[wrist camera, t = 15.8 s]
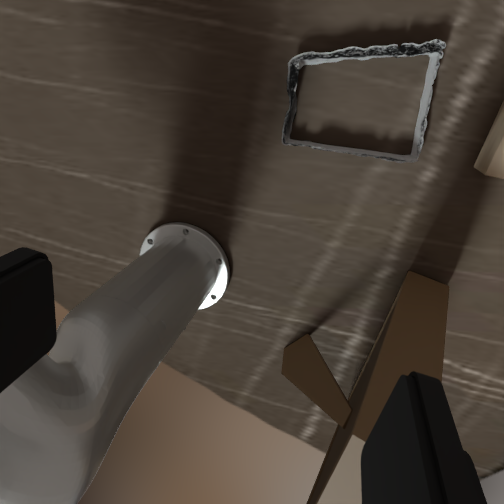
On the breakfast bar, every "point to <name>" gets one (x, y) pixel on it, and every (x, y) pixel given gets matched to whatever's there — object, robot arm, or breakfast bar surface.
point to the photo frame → (370, 380)
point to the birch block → (493, 149)
